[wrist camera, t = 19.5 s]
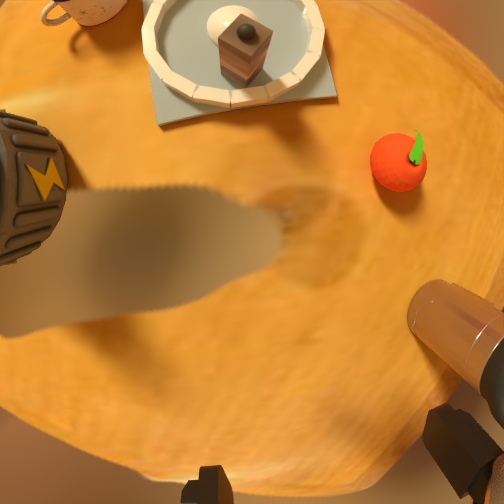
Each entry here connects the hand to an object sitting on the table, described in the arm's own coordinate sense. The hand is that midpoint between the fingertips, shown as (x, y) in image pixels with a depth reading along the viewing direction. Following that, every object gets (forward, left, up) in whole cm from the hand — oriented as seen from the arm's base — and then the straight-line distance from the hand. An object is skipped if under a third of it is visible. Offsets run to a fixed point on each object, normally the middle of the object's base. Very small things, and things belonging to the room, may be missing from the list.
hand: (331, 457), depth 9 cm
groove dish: (-2, -29, -28) cm, 40 cm away
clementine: (-18, -10, -28) cm, 35 cm away
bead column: (-2, -23, -27) cm, 35 cm away
